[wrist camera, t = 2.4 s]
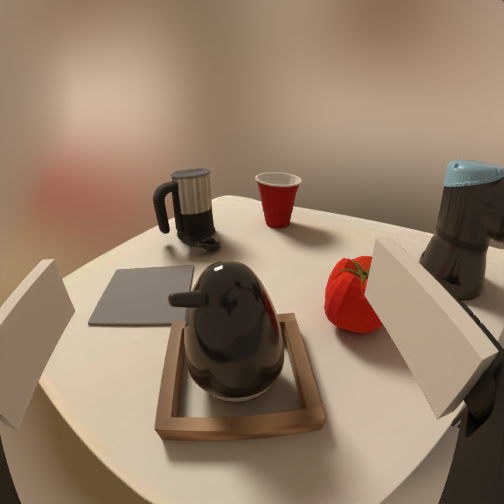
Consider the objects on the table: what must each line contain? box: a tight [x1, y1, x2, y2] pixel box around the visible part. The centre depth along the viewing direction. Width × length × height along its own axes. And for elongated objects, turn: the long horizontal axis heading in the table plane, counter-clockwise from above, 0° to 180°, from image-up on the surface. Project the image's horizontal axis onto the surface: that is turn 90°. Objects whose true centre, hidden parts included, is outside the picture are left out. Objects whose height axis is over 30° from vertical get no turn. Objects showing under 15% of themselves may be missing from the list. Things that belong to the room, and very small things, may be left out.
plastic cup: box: [255, 172, 301, 228], centre depth 66 cm, size 11×11×12 cm
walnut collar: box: [155, 313, 326, 441], centre depth 29 cm, size 16×16×2 cm
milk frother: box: [153, 169, 220, 251], centre depth 59 cm, size 14×16×15 cm
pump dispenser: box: [168, 260, 284, 402], centre depth 26 cm, size 10×10×15 cm
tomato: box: [324, 256, 383, 333], centre depth 36 cm, size 11×11×9 cm
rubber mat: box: [88, 265, 194, 325], centre depth 45 cm, size 16×16×1 cm
